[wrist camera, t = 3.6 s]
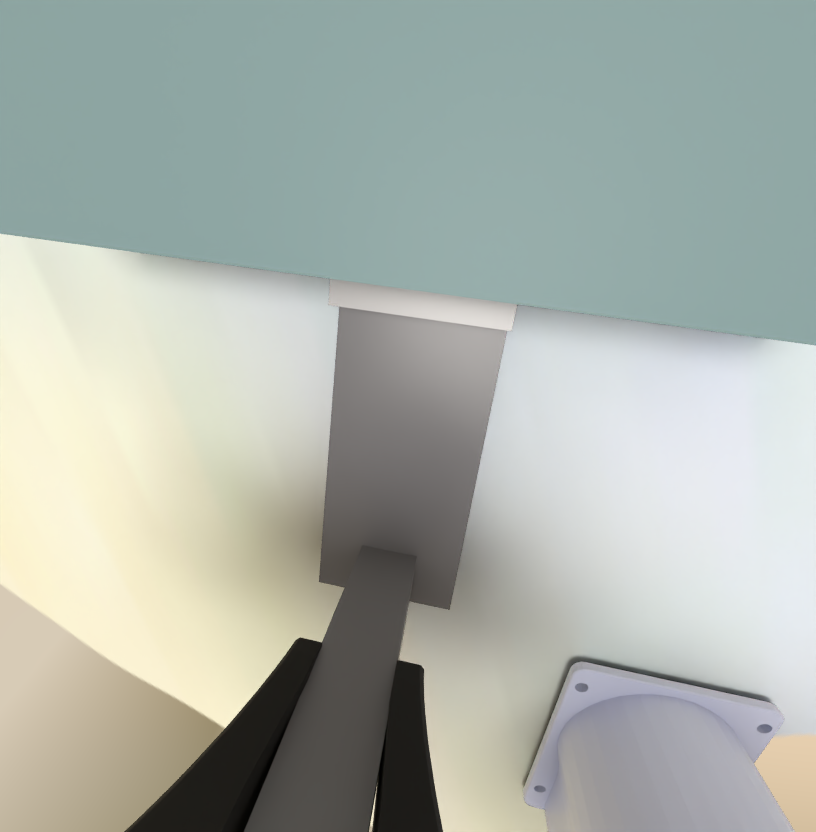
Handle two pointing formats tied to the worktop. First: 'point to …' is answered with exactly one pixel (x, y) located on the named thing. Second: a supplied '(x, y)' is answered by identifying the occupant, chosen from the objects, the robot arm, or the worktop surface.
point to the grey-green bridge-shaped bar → (434, 146)
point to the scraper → (384, 530)
